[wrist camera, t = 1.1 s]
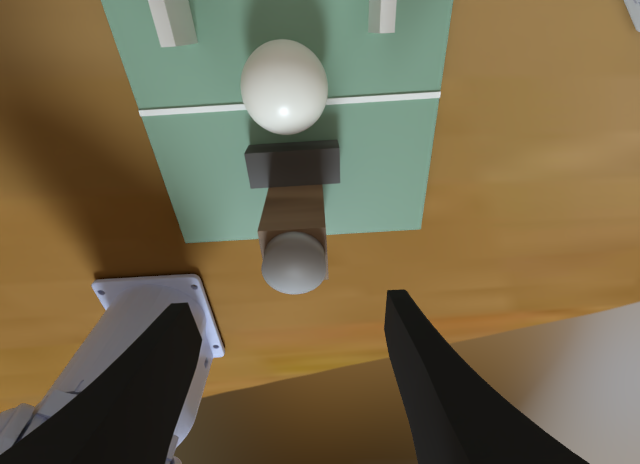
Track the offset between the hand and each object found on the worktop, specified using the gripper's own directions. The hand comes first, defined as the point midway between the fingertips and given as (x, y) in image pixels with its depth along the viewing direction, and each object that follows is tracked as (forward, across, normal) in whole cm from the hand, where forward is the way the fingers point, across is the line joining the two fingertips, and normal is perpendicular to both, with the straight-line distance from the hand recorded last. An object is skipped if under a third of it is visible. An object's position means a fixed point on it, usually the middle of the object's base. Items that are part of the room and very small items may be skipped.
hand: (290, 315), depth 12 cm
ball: (+8, 0, -6) cm, 10 cm away
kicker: (+10, 0, -1) cm, 10 cm away
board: (+10, 0, -6) cm, 12 cm away
